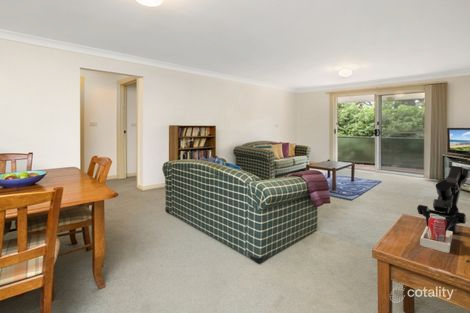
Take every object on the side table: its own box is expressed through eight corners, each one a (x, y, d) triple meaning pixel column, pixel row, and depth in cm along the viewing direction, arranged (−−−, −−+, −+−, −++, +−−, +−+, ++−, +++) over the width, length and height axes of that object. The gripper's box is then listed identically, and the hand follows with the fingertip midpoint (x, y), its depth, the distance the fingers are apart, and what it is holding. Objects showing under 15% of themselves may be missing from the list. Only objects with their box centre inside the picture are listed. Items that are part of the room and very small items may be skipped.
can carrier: (425, 232, 141) (426, 226, 141) (451, 238, 134) (452, 231, 133) (419, 245, 126) (420, 237, 125) (449, 253, 118) (449, 244, 118)
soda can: (433, 236, 130) (435, 213, 129) (448, 242, 124) (450, 218, 122) (423, 238, 128) (425, 215, 126) (439, 244, 121) (441, 220, 120)
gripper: (419, 189, 133) (410, 214, 127) (467, 196, 118) (460, 225, 113) (422, 201, 139) (414, 225, 133) (468, 209, 124) (462, 237, 119)
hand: (436, 228), depth 124 cm, fingers closed on soda can, 7 cm apart
